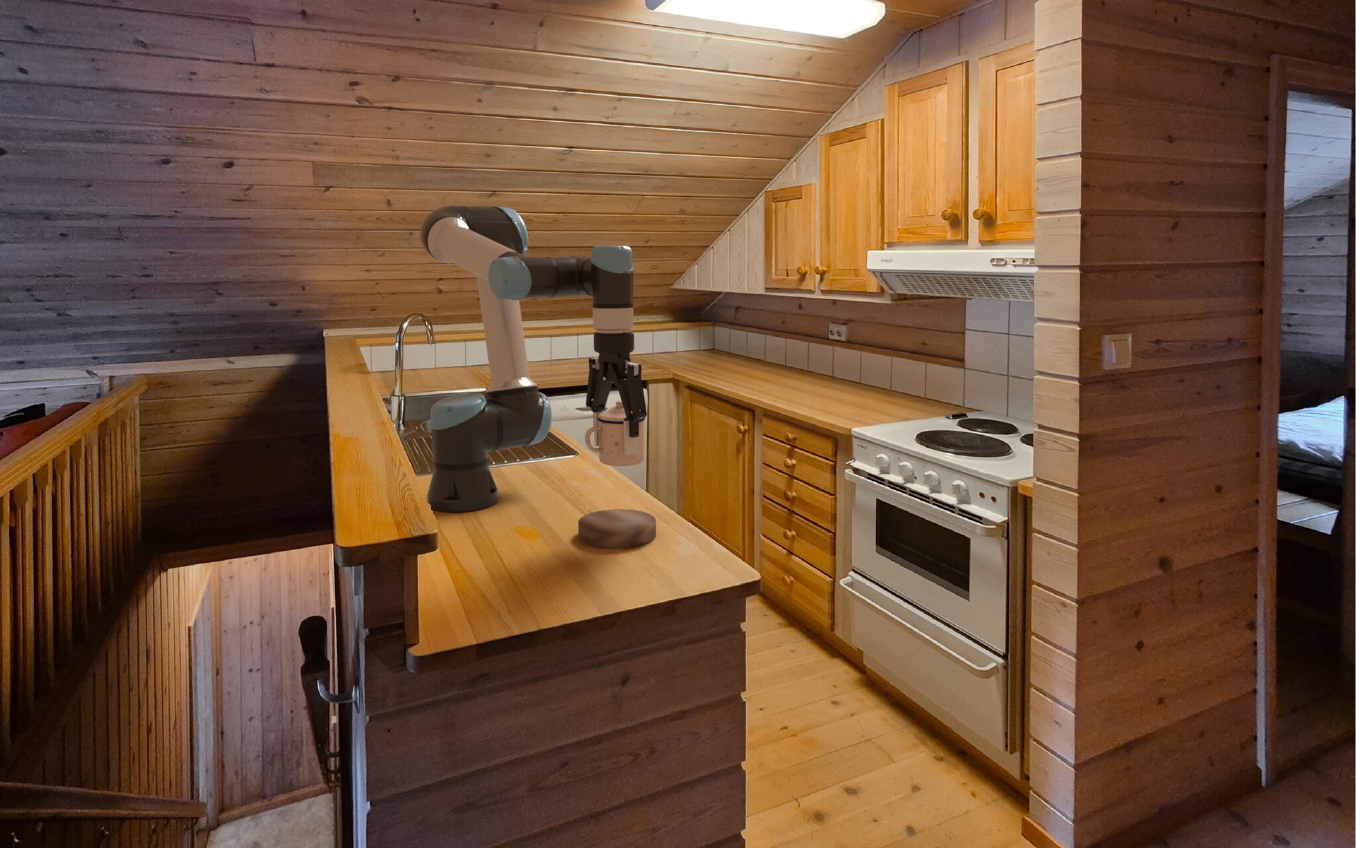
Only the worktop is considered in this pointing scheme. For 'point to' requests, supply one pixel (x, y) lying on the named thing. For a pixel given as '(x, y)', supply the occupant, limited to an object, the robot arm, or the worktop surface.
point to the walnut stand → (617, 528)
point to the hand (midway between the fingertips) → (616, 449)
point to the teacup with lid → (615, 438)
